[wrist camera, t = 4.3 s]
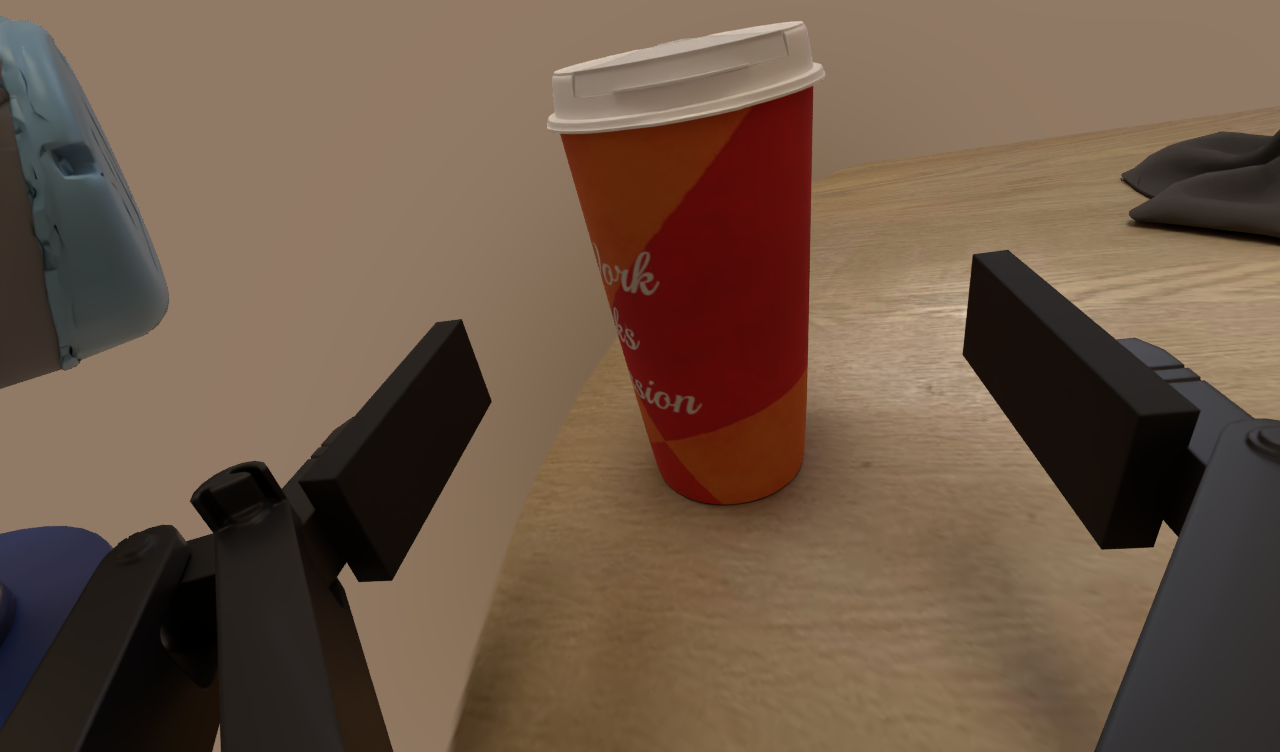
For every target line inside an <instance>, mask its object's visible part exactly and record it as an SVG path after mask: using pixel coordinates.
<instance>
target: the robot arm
mask: <svg viewBox="0 0 1280 752" xmlns="http://www.w3.org/2000/svg"><path fill="white" fill-rule="evenodd" d="M168 304H169V293H168V287H167V284H166V280H165V277H164V274H163V271H162V268H161V265H160V262H159V259H158V257H157V254H156V251H155V249H154V246H153V244H152V241H151V239H150V236H149V233H148V231H147V229H146V226H145V224H144V221H143V219H142V216H141V214H140V212H139V209H138V207H137V205H136V203H135V200H134V198H133V195H132V194H131V191H130V189H129V186H128V184H127V182H126V180H125V178H124V175H123V173H122V171H121V169H120V167H119V164H118V162H117V160H116V158H115V156H114V153H113V152H112V149H111V147H110V145H109V142H108V140H107V138H106V136H105V134H104V132H103V130H102V128H101V126H100V123H99V122H98V119H97V117H96V115H95V113H94V111H93V109H92V107H91V105H90V103H89V101H88V99H87V97H86V95H85V93H84V91H83V89H82V87H81V85H80V83H79V82H78V80H77V78H76V76H75V74H74V72H73V70H72V69H71V67H70V65H69V63H68V62H67V60H66V58H65V57H64V56H63V54H62V53H61V52H60V51H59V49H58V48H57V46H56V45H55V43H54V39H53V38H52V37H51V35H50V34H49V33H48V32H47V31H46V30H45V29H44V28H42V27H41V26H39V25H37V24H35V23H33V22H29V21H12V20H10V19H8V18H5V17H3V16H0V389H1V388H4V387H7V386H11V385H13V384H17V383H20V382H23V381H26V380H29V379H33V378H35V377H39V376H42V375H45V374H48V373H51V372H54V371H58V370H61V369H62V370H68V369H72V368H73V367H76V366H77V365H78V364H79V363H80V361H81V360H82V359H85V358H87V357H90V356H92V355H95V354H98V353H100V352H103V351H105V350H108V349H110V348H113V347H115V346H118V345H121V344H123V343H126V342H128V341H131V340H133V339H136V338H139V337H141V336H144V335H146V334H148V332H149V331H151V330H153V329H154V328H155V327H156V326H157V325H159V323H160V322H161V320H162V319H163V317H164V315H165V314H166V312H167V309H168ZM963 356H964V357H965V359H966V360H967V361H968V363H969V364H970V366H971V367H972V368H973V370H974V371H975V373H976V374H977V375H978V377H979V378H980V380H981V381H982V382H983V384H984V385H985V387H986V388H987V390H988V391H989V392H990V394H991V395H992V397H993V398H994V399H995V401H996V402H997V404H998V405H999V406H1000V408H1001V409H1002V411H1003V412H1004V413H1005V415H1006V416H1007V418H1008V419H1009V420H1010V422H1011V423H1012V425H1013V426H1014V427H1015V429H1016V430H1017V432H1018V433H1019V434H1020V436H1021V437H1022V439H1023V440H1024V441H1025V443H1026V444H1027V446H1028V447H1029V448H1030V450H1031V451H1032V453H1033V454H1034V455H1035V457H1036V458H1037V460H1038V461H1039V462H1040V464H1041V465H1042V467H1043V468H1044V469H1045V471H1046V472H1047V474H1048V475H1049V476H1050V478H1051V479H1052V481H1053V482H1054V483H1055V485H1056V486H1057V488H1058V489H1059V490H1060V492H1061V493H1062V495H1063V496H1064V497H1065V499H1066V500H1067V502H1068V503H1069V504H1070V506H1071V507H1072V509H1073V510H1074V511H1075V513H1076V514H1077V516H1078V517H1079V518H1080V520H1081V521H1082V523H1083V524H1084V525H1085V527H1086V528H1087V530H1088V531H1089V533H1090V534H1091V535H1092V537H1093V538H1094V540H1095V541H1096V542H1097V544H1098V545H1099V547H1100V548H1101V549H1102V550H1103V549H1126V548H1148V547H1154V544H1155V541H1156V538H1157V536H1158V533H1159V530H1160V527H1161V524H1162V521H1163V520H1164V521H1165V522H1166V524H1167V525H1168V526H1169V527H1170V528H1171V529H1172V530H1173V532H1174V533H1175V534H1176V535H1177V536H1178V537H1179V538H1178V540H1177V543H1176V545H1175V548H1174V550H1173V553H1172V555H1171V558H1170V560H1169V563H1168V566H1167V568H1166V571H1165V573H1164V576H1163V578H1162V581H1161V583H1160V586H1159V588H1158V591H1157V593H1156V596H1155V599H1154V601H1153V604H1152V606H1151V609H1150V611H1149V614H1148V616H1147V619H1146V621H1145V624H1144V626H1143V629H1142V632H1141V634H1140V637H1139V639H1138V642H1137V644H1136V647H1135V649H1134V652H1133V654H1132V657H1131V659H1130V662H1129V665H1128V667H1127V670H1126V672H1125V675H1124V677H1123V680H1122V682H1121V685H1120V687H1119V690H1118V693H1117V695H1116V698H1115V700H1114V703H1113V705H1112V708H1111V710H1110V713H1109V715H1108V718H1107V720H1106V723H1105V726H1104V728H1103V731H1102V733H1101V736H1100V738H1099V741H1098V743H1097V746H1096V748H1095V751H1094V752H1280V421H1279V420H1272V419H1255V418H1253V417H1252V416H1251V415H1249V414H1248V413H1247V412H1245V411H1244V410H1243V409H1241V408H1240V407H1239V406H1238V405H1236V404H1235V403H1234V402H1232V401H1231V400H1230V399H1228V398H1227V397H1226V396H1224V395H1223V394H1222V393H1221V392H1219V391H1218V390H1217V389H1215V388H1214V387H1213V386H1211V385H1210V384H1209V383H1207V382H1206V381H1205V380H1203V381H1201V379H1200V376H1198V375H1197V374H1196V373H1194V372H1193V371H1192V370H1190V369H1189V368H1184V364H1183V363H1181V362H1180V361H1179V360H1177V359H1176V358H1175V357H1173V356H1172V355H1171V354H1170V353H1168V352H1167V351H1166V350H1164V349H1162V348H1159V347H1157V346H1154V345H1152V344H1149V343H1147V342H1144V341H1142V340H1140V339H1137V338H1127V339H1117V340H1116V339H1114V338H1113V337H1112V336H1111V335H1110V334H1108V333H1107V332H1106V331H1105V330H1104V329H1102V328H1101V327H1100V326H1099V325H1098V324H1096V323H1095V322H1094V321H1093V320H1092V319H1090V318H1089V317H1088V316H1087V315H1086V314H1084V313H1083V312H1082V311H1081V310H1080V309H1078V308H1077V307H1076V306H1075V305H1074V304H1072V303H1071V302H1070V301H1069V300H1068V299H1066V298H1065V297H1064V296H1063V295H1062V294H1060V293H1059V292H1058V291H1057V290H1056V289H1054V288H1053V287H1052V286H1051V285H1050V284H1048V283H1047V282H1046V281H1045V280H1044V279H1042V278H1041V277H1040V276H1039V275H1038V274H1036V273H1035V272H1034V271H1033V270H1032V269H1030V268H1029V267H1028V266H1027V265H1025V264H1024V263H1023V262H1022V261H1021V260H1019V259H1018V258H1017V257H1016V256H1015V255H1013V254H1012V253H1011V252H1010V251H1009V250H1004V251H996V252H988V253H980V254H973V258H972V268H971V278H970V288H969V298H968V308H967V318H966V327H965V337H964V347H963ZM490 404H491V398H490V396H489V393H488V390H487V387H486V384H485V382H484V379H483V376H482V373H481V371H480V368H479V365H478V362H477V360H476V357H475V354H474V352H473V349H472V346H471V343H470V341H469V338H468V335H467V332H466V330H465V327H464V324H463V321H462V319H459V320H451V321H444V322H437V323H435V325H434V326H433V327H432V328H431V329H430V330H429V331H428V333H427V334H426V335H425V336H424V337H423V339H421V341H420V342H419V343H418V344H417V345H416V346H415V348H414V349H413V350H412V351H411V352H410V353H409V354H408V356H407V357H406V358H405V359H404V360H403V361H402V362H401V364H400V365H399V366H398V367H397V368H396V369H395V371H394V372H393V373H392V374H391V375H390V376H389V377H388V379H387V380H386V381H385V382H384V383H383V384H382V385H381V387H380V388H379V389H378V390H377V391H376V392H375V394H374V395H373V396H372V397H371V398H370V399H369V400H368V402H367V403H366V404H365V405H364V406H363V407H362V409H361V410H360V411H359V412H358V413H357V414H356V416H354V417H352V418H351V419H349V420H348V421H346V422H345V423H344V424H342V425H341V426H339V427H338V428H337V429H335V430H334V431H333V432H332V433H331V434H330V435H329V436H328V438H327V439H326V440H325V441H324V442H323V443H322V445H321V447H320V448H318V449H317V450H316V451H315V452H314V454H313V455H312V456H311V459H308V460H307V461H306V463H305V464H304V465H303V466H302V467H301V468H300V469H299V470H298V471H297V472H296V474H295V475H294V476H293V477H292V478H291V479H290V480H289V481H288V483H287V484H286V485H285V486H284V487H283V488H282V489H281V488H280V486H279V485H278V483H277V482H276V480H275V478H274V477H273V475H272V474H271V472H270V470H269V469H268V467H267V466H266V465H265V463H263V462H258V461H251V462H245V463H241V464H238V465H235V466H232V467H229V468H227V469H225V470H223V471H221V472H220V473H218V474H216V475H214V476H213V477H211V478H210V479H208V480H207V481H205V482H204V483H203V484H202V485H201V486H200V487H199V488H198V489H197V490H196V491H195V492H194V493H193V495H192V498H191V500H190V502H191V503H192V505H193V506H194V507H195V509H196V510H197V512H198V513H199V514H200V515H201V517H202V518H203V520H204V521H205V522H206V524H207V525H208V526H209V528H210V529H211V530H212V532H213V534H210V535H206V536H203V537H200V538H196V539H193V540H189V541H185V539H184V538H183V537H182V535H181V534H180V533H179V532H178V530H177V529H176V528H175V527H173V526H172V525H160V526H156V527H152V528H148V529H146V530H144V531H141V532H137V533H135V534H133V535H131V536H129V538H128V539H127V538H126V539H124V540H123V541H121V542H120V543H118V545H117V546H116V547H115V548H113V549H112V550H111V551H110V552H109V553H107V554H106V556H105V557H104V558H103V559H102V560H101V562H100V563H99V564H98V566H97V568H96V569H95V571H94V573H93V574H92V576H91V578H90V579H89V581H88V583H87V584H86V586H85V588H84V589H83V591H82V593H81V594H80V596H79V598H78V600H77V601H76V603H75V605H74V606H73V608H72V610H71V611H70V613H69V615H68V616H67V618H66V620H65V621H64V623H63V625H62V626H61V628H60V630H59V631H58V633H57V635H56V636H55V638H54V640H53V642H52V643H51V645H50V647H49V648H48V650H47V652H46V653H45V655H44V657H43V658H42V660H41V662H40V663H39V665H38V667H37V668H36V670H35V672H34V673H33V675H32V677H31V679H30V680H29V682H28V684H27V685H26V687H25V689H24V690H23V692H22V694H21V695H20V697H19V699H18V700H17V702H16V704H15V705H14V707H13V709H12V710H11V712H10V714H9V715H8V717H7V719H6V721H5V722H4V724H3V726H2V727H1V729H0V752H212V750H213V746H214V743H215V738H216V735H217V731H218V727H219V724H220V737H221V752H393V749H392V746H391V743H390V740H389V736H388V732H387V729H386V726H385V723H384V720H383V716H382V713H381V709H380V706H379V703H378V699H377V696H376V693H375V689H374V686H373V683H372V680H371V676H370V673H369V669H368V666H367V663H366V659H365V656H364V653H363V650H362V646H361V643H360V640H359V636H358V633H357V630H356V626H355V623H354V620H353V616H352V613H351V610H350V606H349V603H348V600H347V597H346V593H345V590H344V588H343V586H342V585H341V583H340V581H339V580H338V578H337V576H338V575H339V573H340V571H341V570H342V568H343V567H344V565H345V564H346V562H347V563H348V565H349V567H350V568H351V570H352V572H353V573H354V575H355V576H356V578H357V580H358V582H371V581H392V580H393V578H394V576H395V574H396V573H397V571H398V569H399V567H400V565H401V564H402V562H403V560H404V558H405V556H406V555H407V553H408V551H409V549H410V547H411V546H412V544H413V542H414V540H415V538H416V536H417V535H418V533H419V531H420V529H421V528H422V526H423V524H424V522H425V520H426V519H427V517H428V515H429V513H430V512H431V510H432V508H433V506H434V504H435V503H436V501H437V499H438V497H439V495H440V494H441V492H442V490H443V488H444V486H445V485H446V483H447V481H448V479H449V477H450V476H451V474H452V472H453V470H454V468H455V467H456V465H457V463H458V461H459V459H460V457H461V456H462V454H463V452H464V450H465V449H466V447H467V445H468V443H469V442H470V440H471V438H472V436H473V434H474V433H475V431H476V429H477V427H478V425H479V424H480V422H481V420H482V418H483V416H484V415H485V413H486V411H487V409H488V407H489V406H490ZM15 613H16V600H15V597H14V595H13V592H12V591H11V590H10V589H9V588H8V587H7V586H6V585H5V584H4V583H3V582H1V581H0V647H1V646H2V644H3V642H4V641H5V639H6V637H7V635H8V633H9V631H10V629H11V626H12V624H13V621H14V617H15Z"/></svg>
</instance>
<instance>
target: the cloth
mask: <svg viewBox="0 0 1280 752" xmlns="http://www.w3.org/2000/svg"><path fill="white" fill-rule="evenodd" d="M1122 177H1123V178H1124V180H1125V181H1126V182H1128V183H1129V184H1130V185H1131V186H1132V187H1133V188H1135V189H1136V190H1138V191H1140V192H1141V193H1143V194H1145V195H1147V196H1149V197H1151V198H1152V199H1150V200H1148V201H1146V202H1145V203H1143V204H1141V205H1139V206H1138V207H1136V208H1134V209H1132V210H1131V211H1129V215H1130V217H1131V218H1132V219H1134V220H1136V221H1147V222H1157V223H1166V224H1176V225H1185V226H1194V227H1203V228H1212V229H1220V230H1229V231H1238V232H1246V233H1255V234H1263V235H1268V236H1273V237H1277V238H1280V130H1279V131H1278V132H1277V133H1276V134H1275V135H1274V136H1263V135H1252V134H1245V133H1235V132H1219V133H1214V134H1210V135H1206V136H1202V137H1198V138H1194V139H1190V140H1186V141H1183V142H1179V143H1176V144H1173V145H1169V146H1167V147H1165V148H1163V149H1161V150H1160V151H1158V152H1156V153H1154V154H1152V155H1150V156H1149V157H1147V158H1146V159H1145V160H1144V161H1143V162H1141V163H1140V164H1139V165H1138V166H1136V167H1135V168H1134V169H1131V170H1129V171H1127V172H1124V173H1122Z"/></svg>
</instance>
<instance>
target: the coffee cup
mask: <svg viewBox="0 0 1280 752" xmlns="http://www.w3.org/2000/svg"><path fill="white" fill-rule="evenodd" d="M824 78H825V72H824V71H823V67H822V65H820V64H819V63H814V62H813V60H812V54H811V48H810V42H809V36H808V31H807V28H806V26H805V25H804V24H803V22H802V21H794V22H784V23H777V24H769V25H763V26H757V27H751V28H745V29H740V30H734V31H728V32H722V33H717V34H711V35H709V36H705V37H700V38H695V39H692V38H687V39H682V40H677V41H673V42H667V43H662V44H657V45H656V47H651V48H646V49H642V50H640V49H638V50H634V51H629V52H625V53H621V54H616V55H612V56H608V57H604V58H600V59H595V60H592V61H588V62H584V63H580V64H577V65H573V66H569V67H566V68H563V69H560V70H557V71H555V72H554V76H553V77H552V90H553V101H554V110H555V113H554V114H552V115H550V116H549V118H548V124H547V129H548V131H550V132H553V133H560V135H561V138H562V142H563V145H564V149H565V152H566V156H567V159H568V163H569V166H570V170H571V173H572V177H573V180H574V183H575V187H576V190H577V194H578V197H579V201H580V204H581V207H582V211H583V214H584V218H585V222H586V225H587V228H588V232H589V235H590V239H591V242H592V246H593V249H594V253H595V256H596V259H597V263H598V267H599V270H600V274H601V277H602V281H603V284H604V287H605V291H606V294H607V298H608V301H609V305H610V308H611V311H612V315H613V318H614V322H615V325H616V329H617V332H618V336H619V339H620V343H621V346H622V350H623V353H624V356H625V360H626V363H627V367H628V370H629V374H630V377H631V380H632V384H633V387H634V391H635V394H636V397H637V401H638V404H639V407H640V411H641V414H642V418H643V421H644V424H645V428H646V431H647V434H648V437H649V440H650V444H651V447H652V450H653V453H654V456H655V459H656V462H657V465H658V468H659V470H660V472H661V474H662V476H663V478H664V480H665V481H666V483H667V484H668V485H669V486H670V487H671V488H672V489H674V490H675V491H676V492H678V493H680V494H681V495H683V496H685V497H688V498H690V499H693V500H696V501H700V502H704V503H710V504H738V503H745V502H750V501H754V500H757V499H760V498H763V497H766V496H768V495H770V494H772V493H774V492H776V491H778V490H779V489H781V488H782V487H784V486H785V485H786V484H787V483H789V482H790V481H791V480H792V479H793V478H794V476H795V475H796V474H797V472H798V471H799V469H800V466H801V464H802V460H803V455H804V446H805V429H806V404H807V368H808V324H809V277H810V224H811V172H812V171H811V170H812V119H813V85H815V84H817V83H819V82H820V81H822V80H823V79H824Z"/></svg>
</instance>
